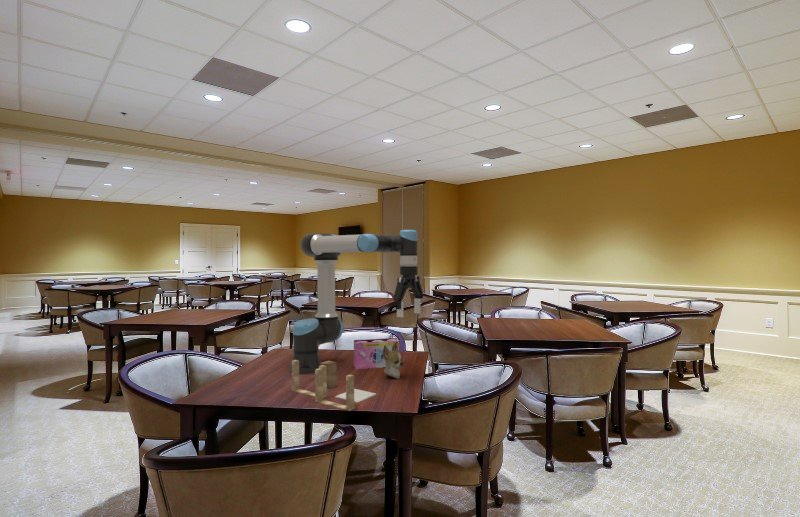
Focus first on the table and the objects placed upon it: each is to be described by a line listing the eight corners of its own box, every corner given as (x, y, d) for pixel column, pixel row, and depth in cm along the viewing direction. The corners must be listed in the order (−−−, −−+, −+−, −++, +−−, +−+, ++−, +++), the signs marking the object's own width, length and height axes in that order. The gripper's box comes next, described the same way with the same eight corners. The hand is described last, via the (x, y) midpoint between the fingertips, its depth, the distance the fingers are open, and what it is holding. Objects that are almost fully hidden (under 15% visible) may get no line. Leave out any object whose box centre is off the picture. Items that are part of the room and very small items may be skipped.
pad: (335, 397, 160) (335, 396, 160) (354, 390, 169) (354, 388, 169) (357, 403, 154) (357, 401, 154) (376, 395, 163) (376, 393, 163)
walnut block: (320, 387, 173) (320, 362, 173) (328, 384, 176) (328, 360, 176) (329, 389, 170) (328, 364, 170) (336, 386, 174) (336, 362, 174)
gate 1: (291, 391, 168) (291, 360, 168) (296, 389, 170) (296, 359, 170) (322, 399, 158) (322, 367, 158) (327, 397, 160) (326, 365, 160)
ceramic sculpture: (395, 382, 179) (395, 347, 179) (378, 379, 183) (378, 344, 183) (408, 376, 188) (408, 342, 188) (392, 373, 192) (392, 340, 192)
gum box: (398, 363, 212) (398, 337, 212) (401, 366, 204) (401, 340, 204) (353, 365, 207) (353, 339, 207) (355, 369, 199) (355, 342, 199)
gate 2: (314, 402, 155) (314, 369, 155) (319, 400, 157) (319, 368, 157) (350, 411, 146) (350, 376, 146) (354, 409, 148) (354, 375, 148)
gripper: (399, 266, 170) (399, 319, 170) (430, 265, 190) (431, 312, 191) (384, 266, 174) (384, 317, 174) (416, 265, 195) (416, 311, 195)
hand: (409, 315), depth 182 cm, fingers open, 13 cm apart
